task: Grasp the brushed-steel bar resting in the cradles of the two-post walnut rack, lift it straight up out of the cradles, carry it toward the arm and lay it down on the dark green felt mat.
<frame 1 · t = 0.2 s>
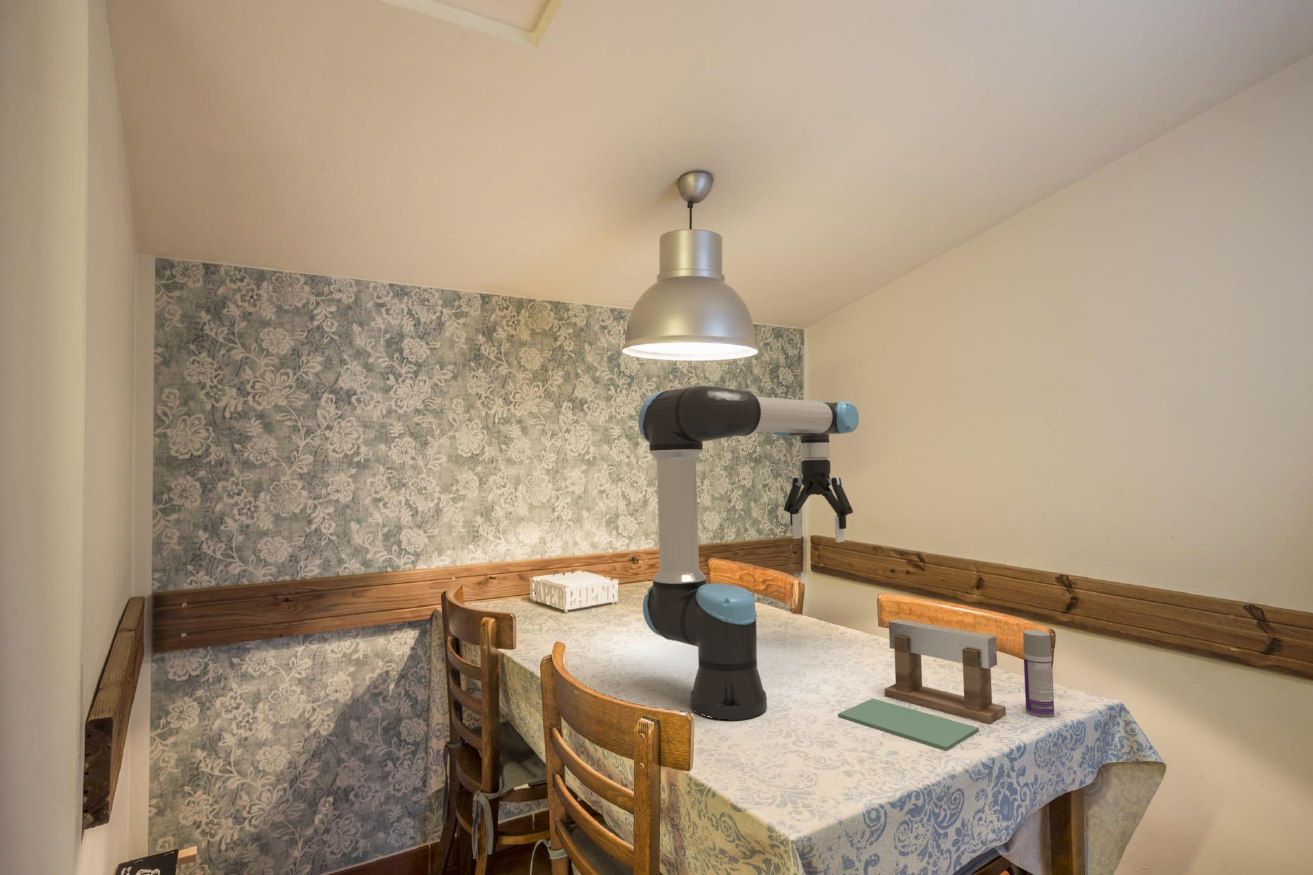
hand: (817, 540, 176), 28 cm above the table, fingers open, 13 cm apart
container: (1040, 713, 127), on the table
rack: (942, 704, 132), on the table
rail: (940, 655, 133), point 9 cm above the table, touching rack
mat: (906, 723, 123), on the table
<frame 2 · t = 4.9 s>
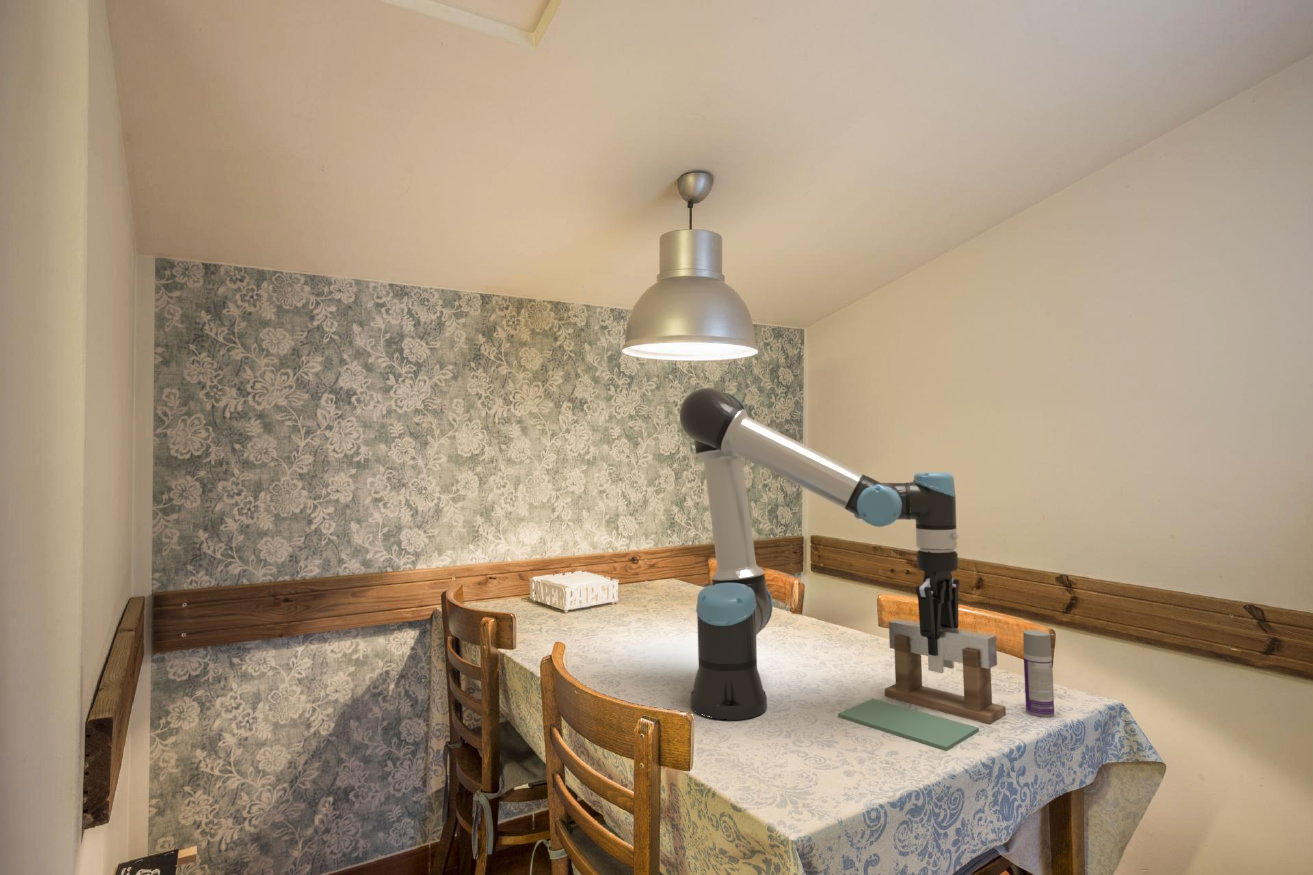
hand: (941, 668, 132), 7 cm above the table, fingers closed on rail, 4 cm apart
rail: (940, 655, 133), point 10 cm above the table, touching gripper, rack
everything else where it was.
when the fingers open (2 cm above the table, at t = 12.0 s): rail drops 4 cm, resting on mat.
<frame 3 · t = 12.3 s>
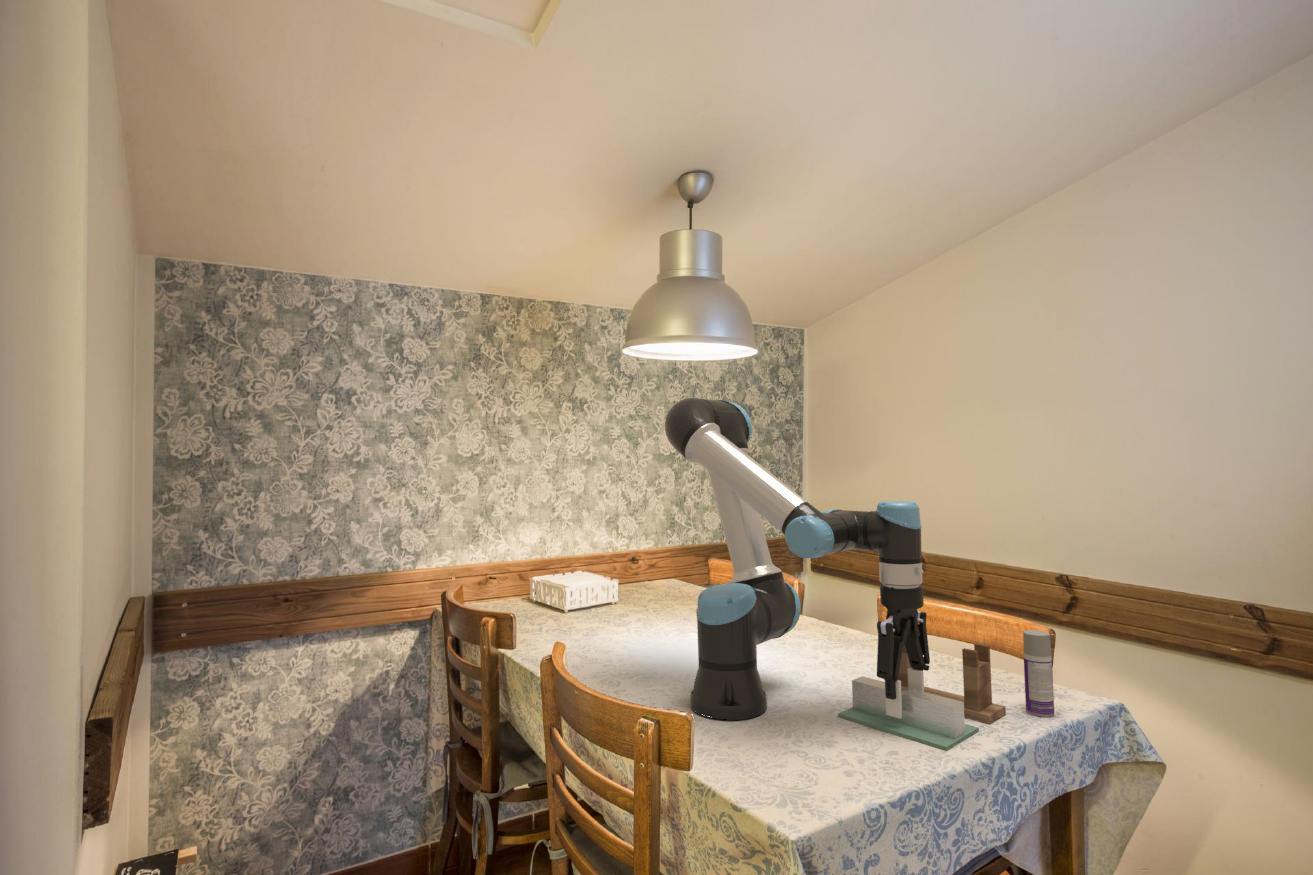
hand: (905, 710, 123), 2 cm above the table, fingers open, 7 cm apart
rail: (905, 720, 123), point 1 cm above the table, touching mat
everything else where it was.
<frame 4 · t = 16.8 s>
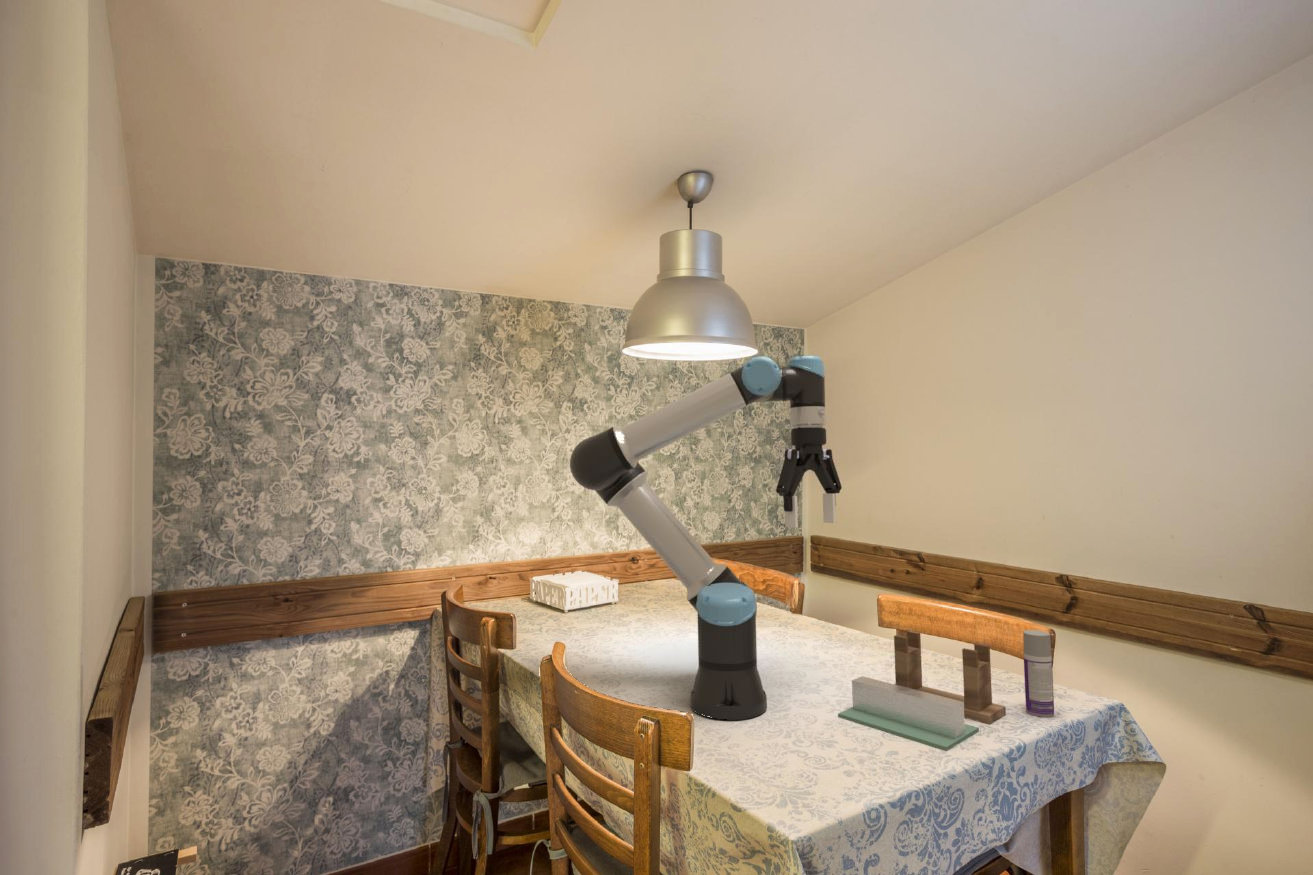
hand: (811, 525, 146), 35 cm above the table, fingers open, 13 cm apart
nothing on the table moved.
at the end: rail inside the target area on the mat (0.0 cm from its centre), point 0.6 cm above the mat's base; rail touching mat; the gripper is holding nothing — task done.
